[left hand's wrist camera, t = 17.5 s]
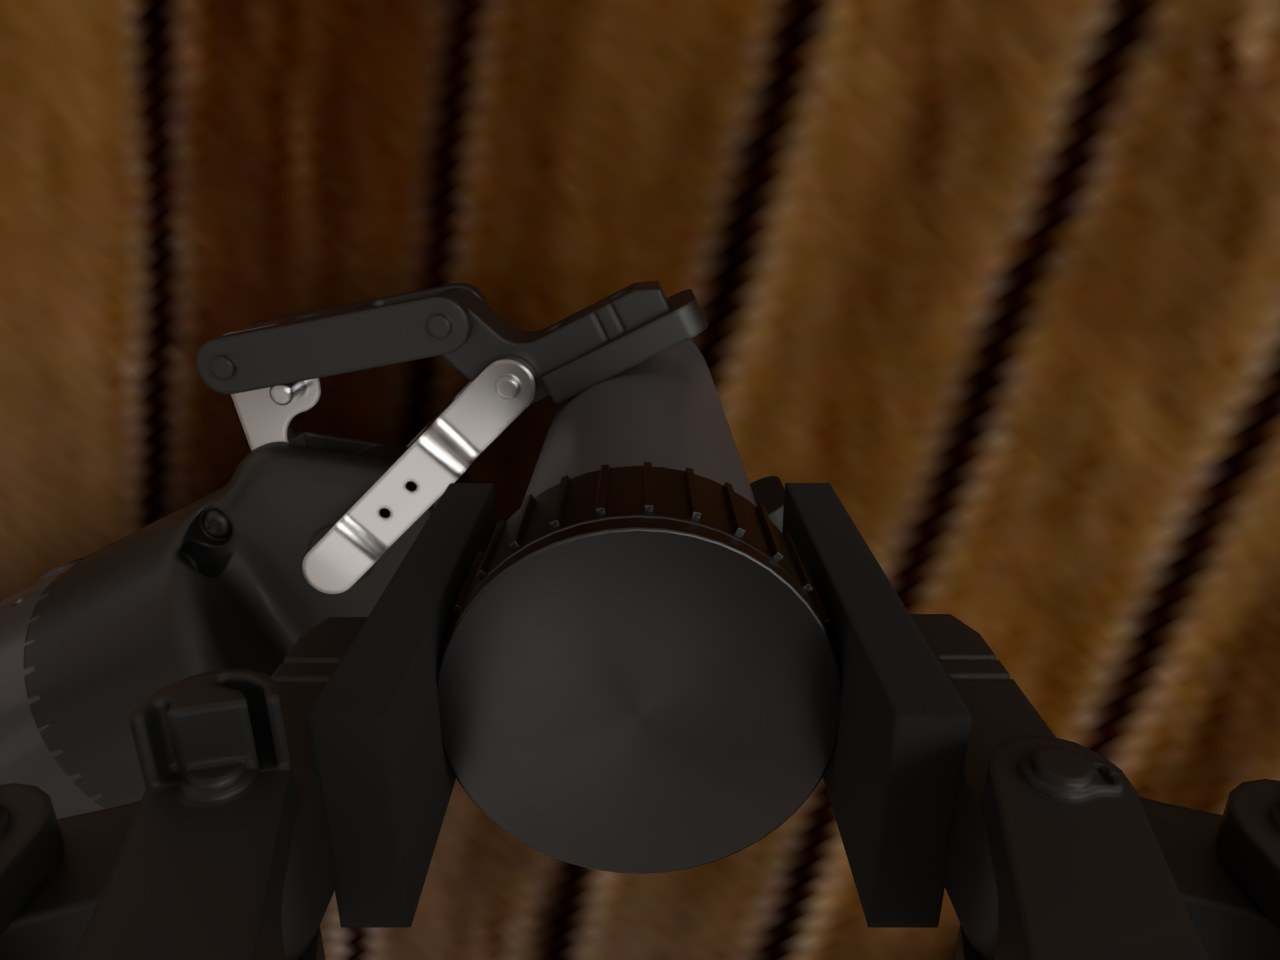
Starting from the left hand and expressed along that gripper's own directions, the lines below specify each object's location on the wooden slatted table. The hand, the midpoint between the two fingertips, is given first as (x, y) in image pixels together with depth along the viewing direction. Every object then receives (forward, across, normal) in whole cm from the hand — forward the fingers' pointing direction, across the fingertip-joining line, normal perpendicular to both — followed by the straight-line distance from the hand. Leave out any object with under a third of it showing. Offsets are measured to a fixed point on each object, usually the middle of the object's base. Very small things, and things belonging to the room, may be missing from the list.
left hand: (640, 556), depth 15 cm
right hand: (+5, -2, -1) cm, 6 cm away
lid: (-4, 0, 0) cm, 4 cm away
